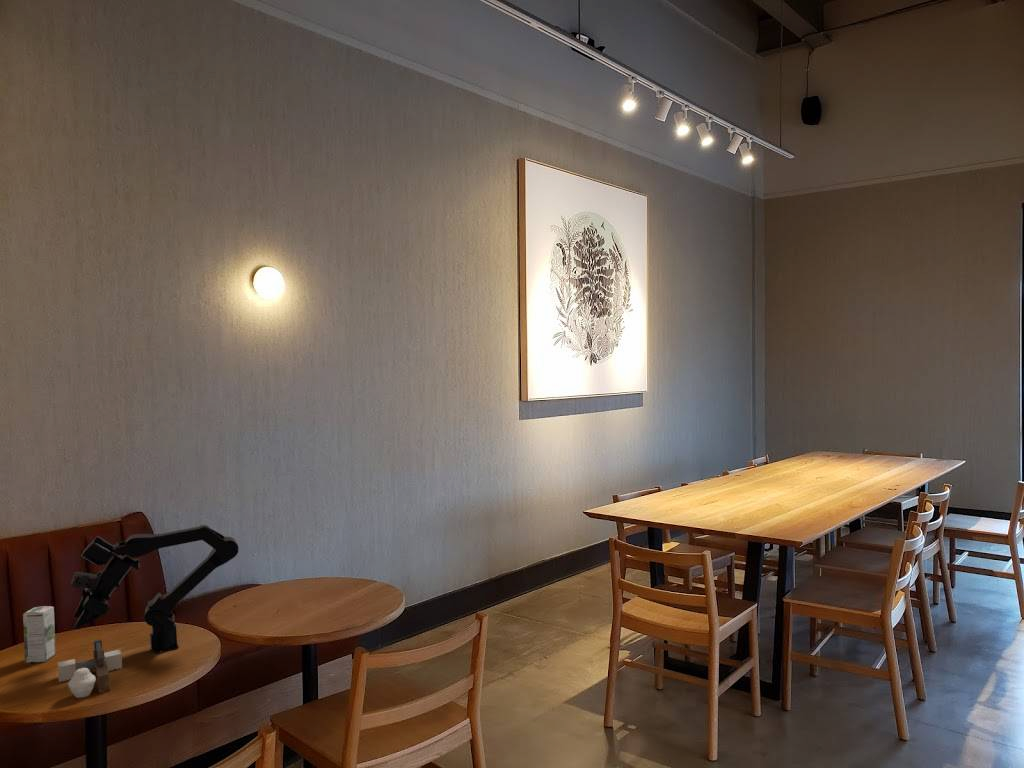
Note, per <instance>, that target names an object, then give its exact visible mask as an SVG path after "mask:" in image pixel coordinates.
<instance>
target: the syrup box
mask: <svg viewBox="0 0 1024 768" xmlns="http://www.w3.org/2000/svg"><path fill="white" fill-rule="evenodd" d="M22 620H23V642H24V643H23V645H24V663H25V664H31V663H30V662H36V663H44V662H48V660H50V659H52V658H53V657H54V656H56V648H57V647H56V633H55V632H56V630H55V629H56V628H55V626H56V625H55V607H54V606H50V605H49V606H47V605H43V606H42V605H41V606H36V607H32V608H31V609H29V610H27V611H26V612H24V613H23V614H22Z"/></svg>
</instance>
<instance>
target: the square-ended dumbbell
mask: <svg viewBox="0 0 1024 768" xmlns="http://www.w3.org/2000/svg"><path fill="white" fill-rule="evenodd" d="M122 656H123V655H122V651H121V649H116V650H110V651H107V652H104V657H105V659H106V663H107V667H108V670H111V671H115V670H114V669H116V670H120V669H123V659H122V658H123V657H122ZM95 659H98V658H95ZM95 659H94V658H90V659H87V660H82V661H76V659H75V658H73V659H69V660H64V661H58V662H57V672H58V673H57V674H58V675H57V676H58V682H59V683H62V682H65V681H66V682H67V681H70V679H72V677H73V676H74V672H75V671H76V670H78V669H81V668H88V669H89V670H90V672H92V671H96V667H95ZM119 668H120V669H119ZM61 681H62V682H61Z"/></svg>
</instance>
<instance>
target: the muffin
mask: <svg viewBox="0 0 1024 768" xmlns="http://www.w3.org/2000/svg"><path fill="white" fill-rule="evenodd" d="M96 682H97V678H96V675H95V674H92V672H91V671H90V670H89V669H88V668H81V669H78V670H76V671H75V672H74V676H73V677H72V679H71V680H68V683H67V686H68V688H69V690H70V692H71V693H72V694H73V696H74V697H75V698H76V699H81V698H86V697H88V696H90V695H91V693H92V691H93V688H94V687H95V684H96Z"/></svg>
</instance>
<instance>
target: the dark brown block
mask: <svg viewBox="0 0 1024 768" xmlns="http://www.w3.org/2000/svg"><path fill="white" fill-rule="evenodd" d="M92 652H93V659H95V658H98V655H97V651H96V650H95V649H94V650H93V651H92ZM102 653H103V657H104V653H105V651H104V648H102ZM95 667H96V670H95V677H97V678H96V682H97V683H96V684H97V687H98V691H99V693H100V692H101V693H103V692H104V693H105V692H109V691H111V686H110V685H111V684H110V683H111V682H110V673H109V672H110V671H108V667H107V663H106V659H105V657H104V665H102V666H100V665H99V660H98V659H95ZM108 690H109V691H108ZM101 693H100V694H101Z"/></svg>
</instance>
